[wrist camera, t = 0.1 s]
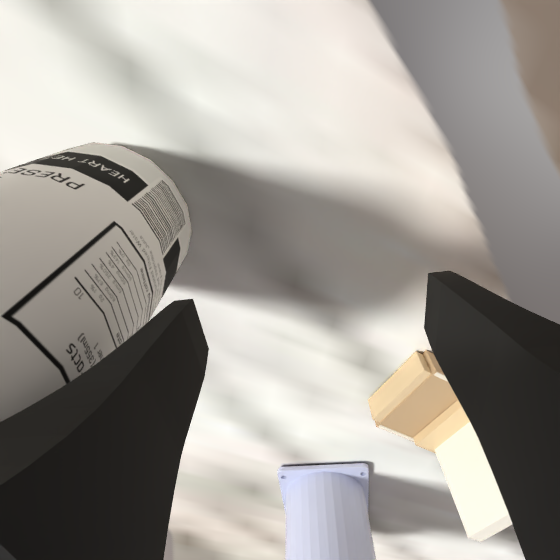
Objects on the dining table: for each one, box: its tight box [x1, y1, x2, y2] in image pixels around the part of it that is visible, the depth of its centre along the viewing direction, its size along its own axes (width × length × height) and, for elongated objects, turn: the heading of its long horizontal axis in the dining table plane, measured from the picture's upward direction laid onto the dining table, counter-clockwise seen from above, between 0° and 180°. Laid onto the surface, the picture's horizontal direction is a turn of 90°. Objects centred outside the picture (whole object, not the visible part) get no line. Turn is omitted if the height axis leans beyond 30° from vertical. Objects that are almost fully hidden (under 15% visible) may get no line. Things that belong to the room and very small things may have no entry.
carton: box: [368, 350, 458, 442], centre depth 26 cm, size 7×6×2 cm
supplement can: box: [0, 142, 192, 422], centre depth 14 cm, size 8×8×15 cm
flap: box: [413, 400, 512, 542], centre depth 23 cm, size 3×6×6 cm, turn 151°
